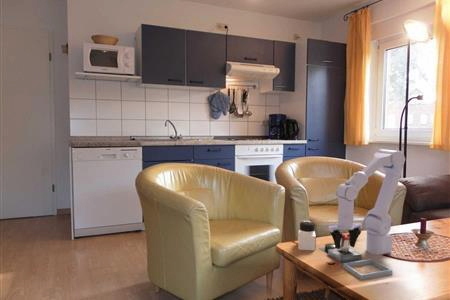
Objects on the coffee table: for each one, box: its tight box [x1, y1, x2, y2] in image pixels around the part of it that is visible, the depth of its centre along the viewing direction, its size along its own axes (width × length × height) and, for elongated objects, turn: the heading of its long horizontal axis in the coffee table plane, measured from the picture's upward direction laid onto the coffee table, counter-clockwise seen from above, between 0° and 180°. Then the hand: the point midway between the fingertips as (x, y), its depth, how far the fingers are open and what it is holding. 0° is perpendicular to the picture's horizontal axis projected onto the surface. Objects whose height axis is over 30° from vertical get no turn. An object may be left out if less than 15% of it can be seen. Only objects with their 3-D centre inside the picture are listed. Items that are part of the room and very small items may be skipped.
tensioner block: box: [318, 242, 363, 264], centre depth 138 cm, size 10×16×3 cm, turn 17°
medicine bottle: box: [297, 220, 317, 251], centre depth 145 cm, size 7×7×12 cm
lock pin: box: [340, 232, 351, 255], centre depth 134 cm, size 4×4×9 cm
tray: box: [342, 258, 393, 280], centre depth 122 cm, size 13×10×2 cm
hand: (344, 247), depth 134 cm, fingers open, 6 cm apart
